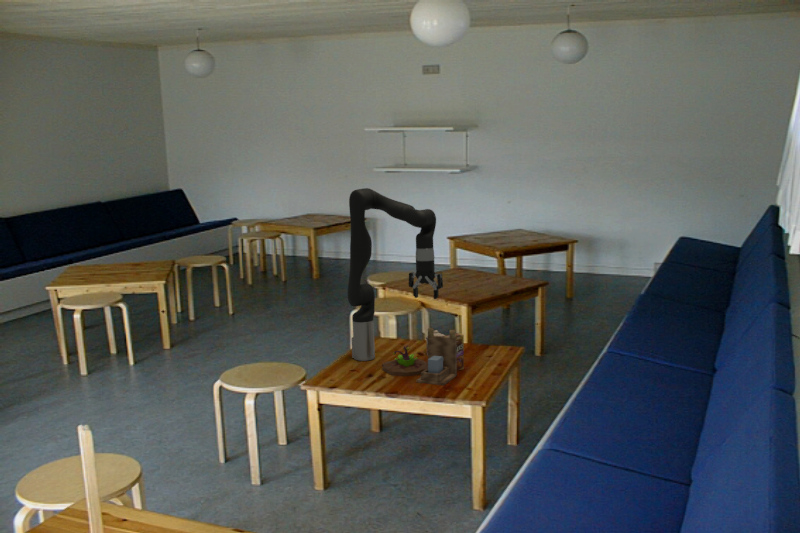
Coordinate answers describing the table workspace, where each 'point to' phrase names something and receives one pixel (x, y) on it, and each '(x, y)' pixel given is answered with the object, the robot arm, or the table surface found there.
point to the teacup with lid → (434, 335)
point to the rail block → (435, 364)
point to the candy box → (459, 350)
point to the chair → (448, 351)
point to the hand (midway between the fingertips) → (426, 298)
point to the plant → (404, 365)
